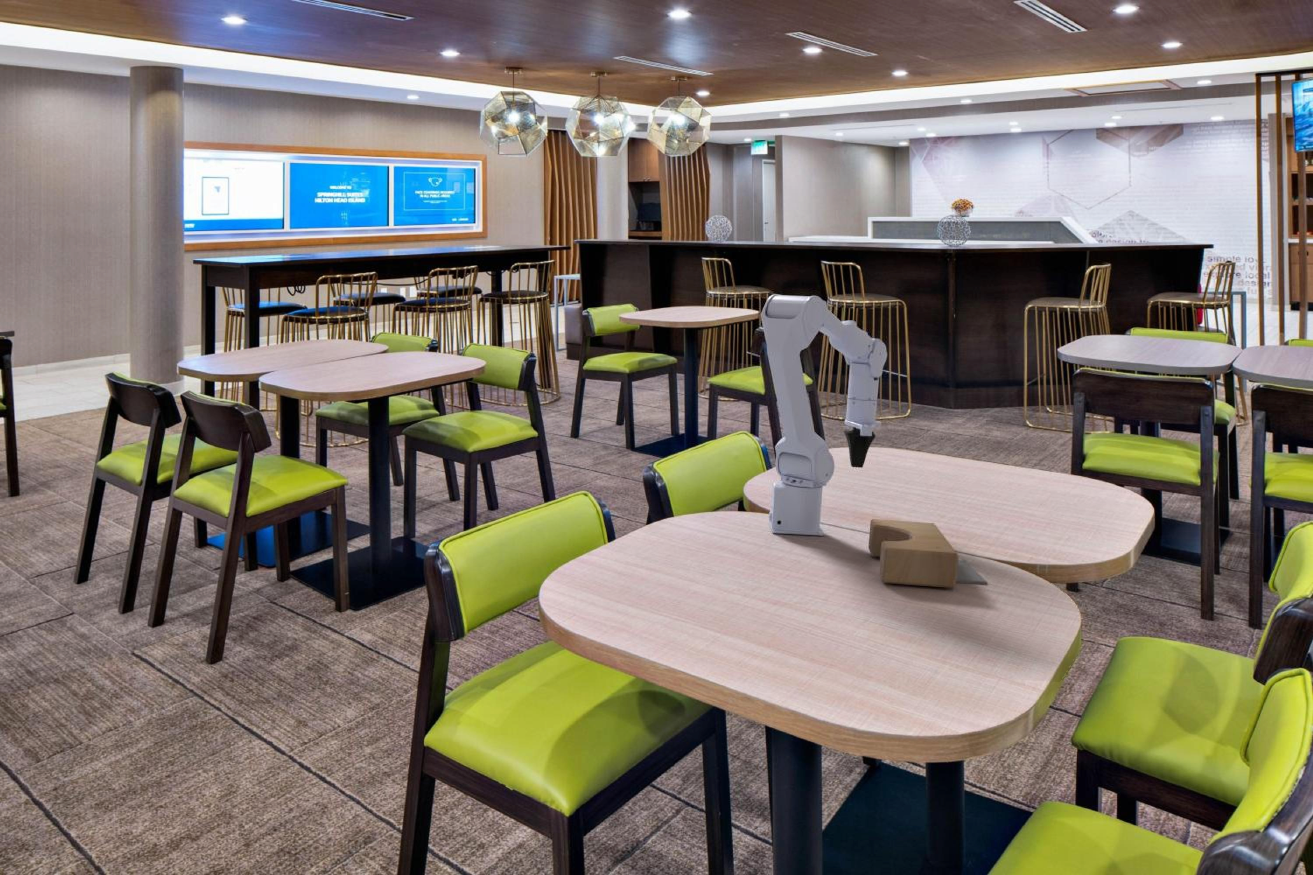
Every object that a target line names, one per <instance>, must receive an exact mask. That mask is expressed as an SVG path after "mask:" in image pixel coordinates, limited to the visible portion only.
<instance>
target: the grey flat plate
mask: <svg viewBox="0 0 1313 875" xmlns="http://www.w3.org/2000/svg"><path fill="white" fill-rule="evenodd" d="M957 583H961V584H962V583H963V584H976V585H977V584H979V585H987V584H988V580H986V579H985V578H984V577H983V576H982V575H981V574H980V573H979V572H977V570H976V569H974V567H972V566H971V565H970V564H969V563H968V562H967V561H966V560H960V559H958V567H957V577H956V584H957Z"/></svg>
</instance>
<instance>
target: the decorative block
mask: <svg viewBox="0 0 1313 875" xmlns="http://www.w3.org/2000/svg"><path fill="white" fill-rule="evenodd" d="M867 547H868V550H869V552H870V555H871V556H872V557H877V558H879V568H878V574H879V577H880V579H881V580H882V582H883V583H885V584H896V585H897V584H898V585H908V586H909V585H910V586H911V585H912V586H922V587H936V588H949V589H953V588H955V587H957V582H956V577H957V567H958V560H959V554H958V553H957V551H956V550H955V549H954V548H953V546H952V544H951V543H949V541H948V539H947V538H946V537H945V536H944V534H943V533H942V532H941V530H940V529H939V528H938V527H937V525H936V524H935V523H933V522H919V521H907V520H906V521H905V520H892V519H877V518H876V519H875V518H872V519H871V520H870V526H869V537H868V546H867Z"/></svg>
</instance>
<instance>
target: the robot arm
mask: <svg viewBox="0 0 1313 875" xmlns="http://www.w3.org/2000/svg"><path fill="white" fill-rule="evenodd" d="M760 319H761V323H762V327H763V328H762V329H763V333H764V339H765V343H766V353H767V358H768V364H769V369H770V373H771V378H772V382H773V387H774V393H775V397H776V401H777V407H778V410H779V415H780V421H781V425H782V430H783V435H784V436H783V437H782V438H781V439H780V440H778V442H777V443H776V445H775V446H774V449H775V463H774V464H775V469H776V473H777V474H778V476H779V477H780V482H773V483H772V485H771V494H770V508H769V513H768V525H769V527H770V529H771V532H772V533H773V534H787V535H801V536H802V535H803V536H804V535H805V536H806V535H807V536H821V537H822V536H824V535H825V532H824V531H823V529H822V527H821V516H822V515H821V513H822V502H823V500H822V499H823V488H824V487H825V486H827V484H828V483H829V482H830V481H831V479H832V477H833V475H834V472H835V459H834V456H833V455H832V453H831V451H830V450H829V447H828V443H827V442H826V440H824V439H823V438H822V437H821V436H820V435H818V434H817V432H815V429H814V423H813V419H812V418H813V416H812V413H811V408H810V403H809V398H808V393H807V388H806V386H807V385H806V383H805V377H804V373H803V366H802V362H801V356H800V354H801V351H803V350H805V349H807V348H809V346H810V345H811V343H812V341H813V340H814V339H815V337H816V335H817V334H818V333H819V332H820V333H822V334H824V335H825V336H827V338H828V337H829V338H828V340H829V341H828V342H829V344H830V345H831V347H832V348H833V349H835V350H837V351H838V352H840V354H842V355H843V356H844V360H845V363H846V364H847V366H849V374H848V377H849V378H848V388H847V400H846V401H847V402H846V412H845V419H844V425H846V426H849V427H852V429H851V430H850V429H849V430H843V434H844V436H845V438H846V440H847V441H846V442H847V446H848V452H849V453H848V454H849V462H850V466H851V467H852V468H861V469H863V467H864V465H865V461H866V458H867V456H868V451H869V449H870V446H871V445H872V443H873V441H874V440H875V438H876V434H875V433H874V431H873V429H874V428H876V427H881V426H882V422H881V421H880V420H879V421H878V420H877V421H876V418H877V417H876V416H877V407H878V406H877V405H878V404H877V403H878V394H879V384H880V383H879V382H880V380H879V379H880V377H882V374H883V368H884V366H885V363H886V361H887V358H888V352H887V346H886V344H885V343H884V342H883V340H881V339H880V338H873V337H871V336H870V335H868V334H869V333H868V332H867V331H865V330H862V329H861V328H859V327H858V325H857V324H858V323H857V322H856V321H854V320H842V321H841V320H840V318H838V317H837V316H836V315H835V314H833V313H832V311H830V310H829V309H828V305H827V301H825V300H823V299H822V298H821V297H820V296H817V295H811V296H805V295H786V294H785V295H783V294H779V293H778V294H777V293H774V294H771V295H770V296H768V298H767V299H766V302H765V304H764V306H763V308H762V311H761V313H760Z"/></svg>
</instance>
